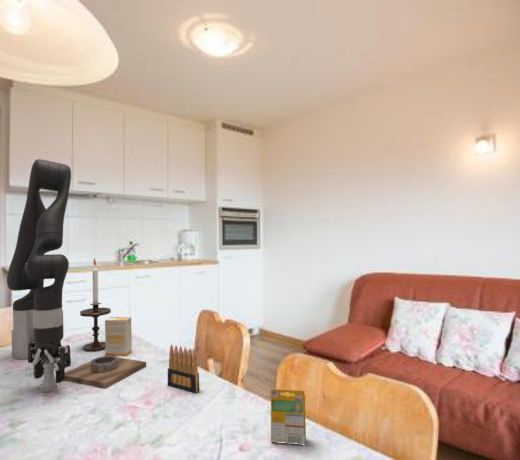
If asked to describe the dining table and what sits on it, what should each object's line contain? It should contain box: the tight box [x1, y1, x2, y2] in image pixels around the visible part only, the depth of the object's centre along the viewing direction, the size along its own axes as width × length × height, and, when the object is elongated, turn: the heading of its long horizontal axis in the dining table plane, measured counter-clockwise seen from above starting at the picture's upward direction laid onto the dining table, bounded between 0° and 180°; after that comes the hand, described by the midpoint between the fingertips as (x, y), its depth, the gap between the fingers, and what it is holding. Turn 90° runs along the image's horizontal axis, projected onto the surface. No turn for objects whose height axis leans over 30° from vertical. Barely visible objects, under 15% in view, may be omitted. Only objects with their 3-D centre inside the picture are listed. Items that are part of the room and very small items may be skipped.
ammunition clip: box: [166, 344, 200, 394], centre depth 105 cm, size 11×2×12 cm, turn 60°
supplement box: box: [104, 316, 133, 356], centre depth 135 cm, size 8×5×13 cm, turn 84°
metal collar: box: [91, 355, 120, 373], centre depth 117 cm, size 8×8×2 cm
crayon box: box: [270, 388, 307, 445], centre depth 79 cm, size 7×3×12 cm, turn 81°
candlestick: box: [79, 258, 112, 353], centre depth 142 cm, size 11×11×35 cm
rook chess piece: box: [39, 360, 59, 393], centre depth 105 cm, size 4×4×8 cm
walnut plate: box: [64, 354, 147, 389], centre depth 117 cm, size 18×18×2 cm
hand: (49, 379), depth 105 cm, fingers open, 8 cm apart
